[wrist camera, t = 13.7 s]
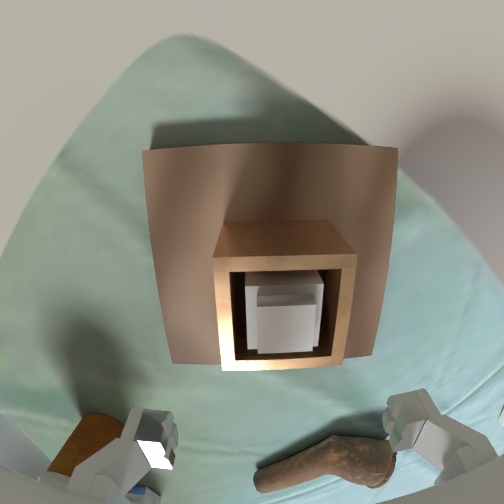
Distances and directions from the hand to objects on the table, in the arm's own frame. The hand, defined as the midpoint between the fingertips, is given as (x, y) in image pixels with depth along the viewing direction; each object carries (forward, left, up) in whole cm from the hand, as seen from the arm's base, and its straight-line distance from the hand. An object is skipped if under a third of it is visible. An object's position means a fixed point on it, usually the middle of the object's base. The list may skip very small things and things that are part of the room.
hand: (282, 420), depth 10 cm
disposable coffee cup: (+18, +20, -13) cm, 30 cm away
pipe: (-7, +25, -13) cm, 29 cm away
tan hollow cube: (-1, -1, -11) cm, 11 cm away
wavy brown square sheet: (-1, -1, -13) cm, 13 cm away
